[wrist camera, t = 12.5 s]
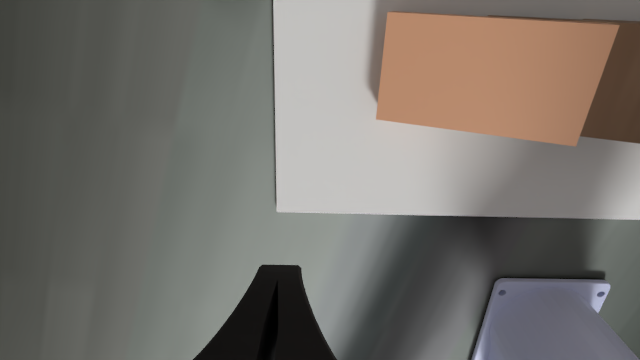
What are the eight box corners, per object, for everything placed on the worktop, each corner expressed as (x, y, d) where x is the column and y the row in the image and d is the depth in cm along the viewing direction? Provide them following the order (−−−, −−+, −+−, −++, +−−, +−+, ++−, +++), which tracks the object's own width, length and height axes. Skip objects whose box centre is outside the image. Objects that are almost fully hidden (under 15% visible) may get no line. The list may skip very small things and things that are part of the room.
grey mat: (740, 218, 25) (747, 222, 24) (277, 208, 24) (276, 212, 23) (920, -76, 18) (933, -77, 17) (272, -107, 17) (271, -109, 16)
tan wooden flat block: (393, 11, 18) (606, 22, 16) (381, 111, 21) (567, 135, 18) (387, 12, 17) (619, 25, 15) (375, 119, 19) (576, 146, 17)
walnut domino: (488, 14, 19) (714, 26, 16) (467, 114, 21) (663, 137, 18) (490, 16, 17) (737, 28, 15) (467, 122, 19) (679, 148, 17)
